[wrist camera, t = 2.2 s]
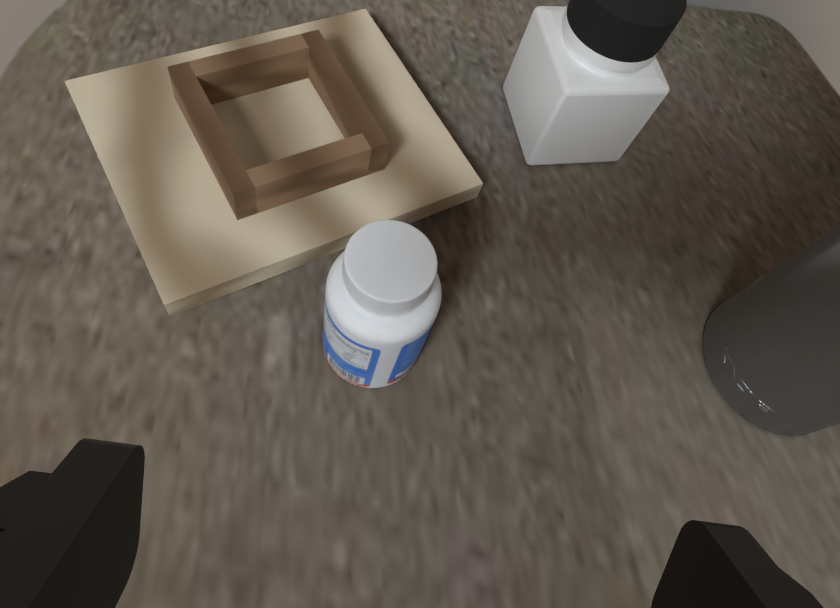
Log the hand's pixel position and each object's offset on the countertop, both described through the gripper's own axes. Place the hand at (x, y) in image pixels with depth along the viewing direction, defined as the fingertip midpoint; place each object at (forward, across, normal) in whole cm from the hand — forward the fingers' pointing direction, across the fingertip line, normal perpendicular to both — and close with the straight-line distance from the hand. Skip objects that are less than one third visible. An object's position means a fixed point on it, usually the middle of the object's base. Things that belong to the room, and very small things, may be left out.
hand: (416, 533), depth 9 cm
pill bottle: (+25, 0, +8) cm, 26 cm away
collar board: (+33, +7, -1) cm, 34 cm away
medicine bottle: (+38, -12, -6) cm, 40 cm away
